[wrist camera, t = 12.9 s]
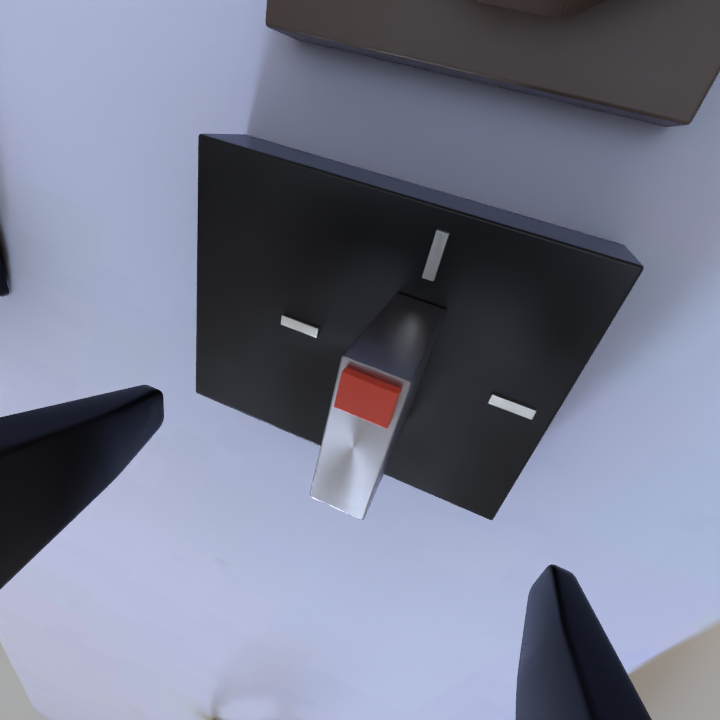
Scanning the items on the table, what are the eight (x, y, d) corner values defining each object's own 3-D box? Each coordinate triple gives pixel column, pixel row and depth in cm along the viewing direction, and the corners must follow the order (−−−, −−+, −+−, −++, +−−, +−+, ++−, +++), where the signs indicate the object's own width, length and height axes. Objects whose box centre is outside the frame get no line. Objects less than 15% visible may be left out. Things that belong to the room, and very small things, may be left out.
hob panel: (229, 366, 20) (192, 394, 18) (244, 134, 15) (193, 132, 13) (496, 476, 18) (492, 525, 15) (626, 245, 12) (647, 268, 10)
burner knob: (404, 425, 15) (359, 528, 11) (363, 407, 15) (304, 503, 11) (447, 309, 12) (409, 388, 8) (396, 291, 13) (337, 360, 9)
